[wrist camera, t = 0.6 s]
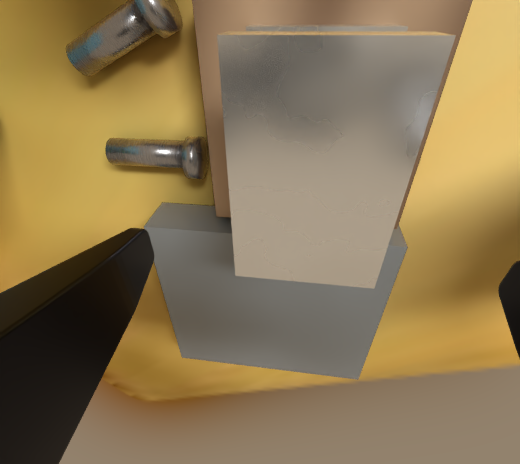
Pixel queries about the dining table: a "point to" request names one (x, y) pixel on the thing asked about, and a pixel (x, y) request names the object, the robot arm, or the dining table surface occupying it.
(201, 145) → the bolt
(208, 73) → the stand
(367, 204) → the block
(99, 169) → the dining table surface
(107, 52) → the bolt
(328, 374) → the stand
